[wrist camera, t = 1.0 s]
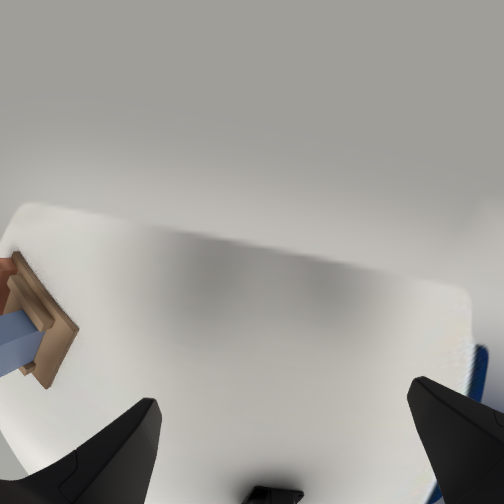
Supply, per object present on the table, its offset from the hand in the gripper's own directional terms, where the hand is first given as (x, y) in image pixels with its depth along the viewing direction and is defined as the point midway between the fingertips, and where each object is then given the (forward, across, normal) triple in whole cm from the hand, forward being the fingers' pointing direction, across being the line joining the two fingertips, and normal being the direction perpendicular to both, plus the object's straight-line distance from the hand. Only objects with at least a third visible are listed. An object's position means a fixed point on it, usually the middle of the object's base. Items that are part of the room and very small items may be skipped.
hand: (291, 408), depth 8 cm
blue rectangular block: (+12, +26, +6) cm, 29 cm away
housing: (+14, +27, +6) cm, 31 cm away
